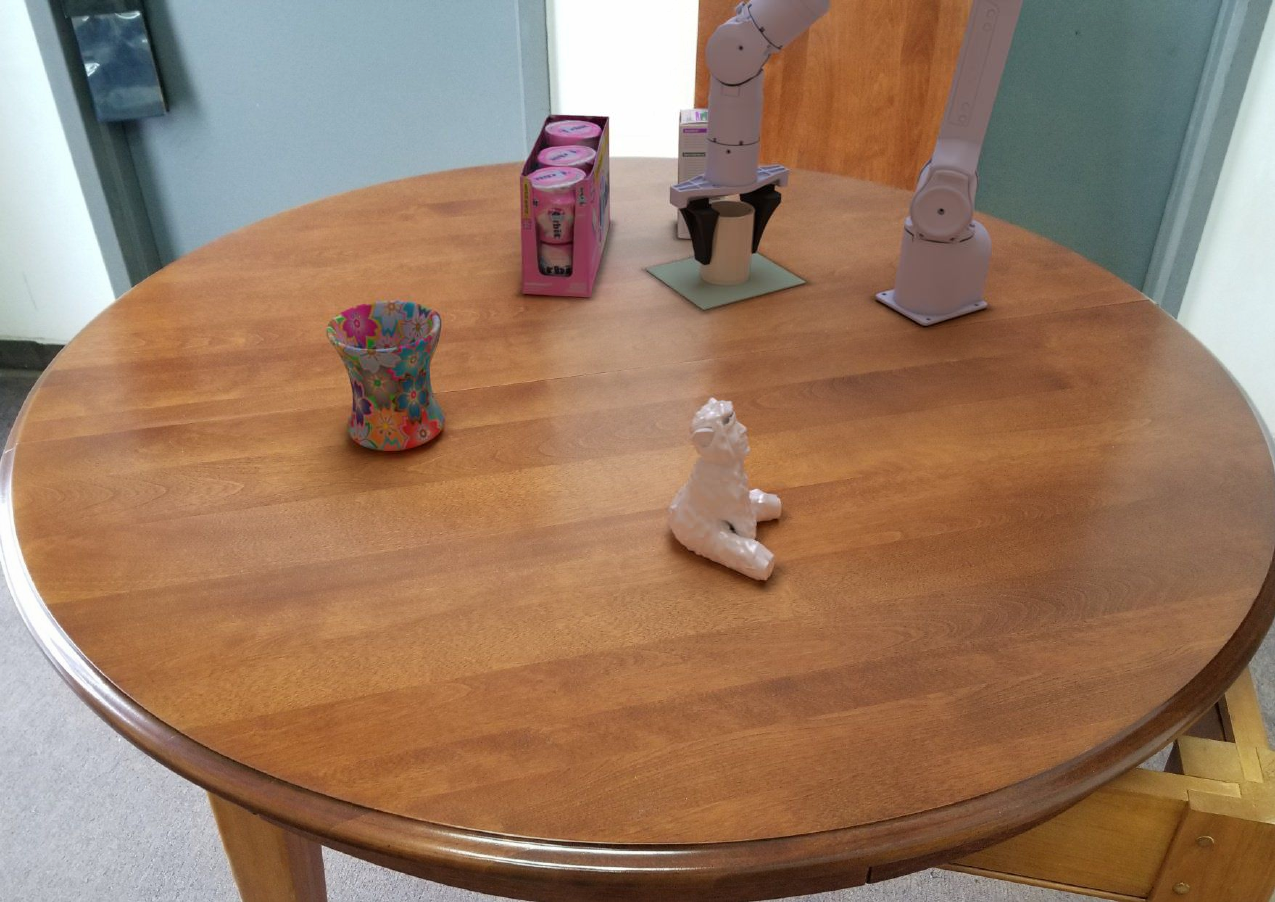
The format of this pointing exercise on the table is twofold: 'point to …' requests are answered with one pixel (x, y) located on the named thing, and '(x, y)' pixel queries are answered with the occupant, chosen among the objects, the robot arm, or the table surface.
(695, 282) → the mat
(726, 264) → the cup
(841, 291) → the table surface
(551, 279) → the gum box
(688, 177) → the syrup box
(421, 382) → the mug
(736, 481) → the seated beast figurine
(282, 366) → the table surface
